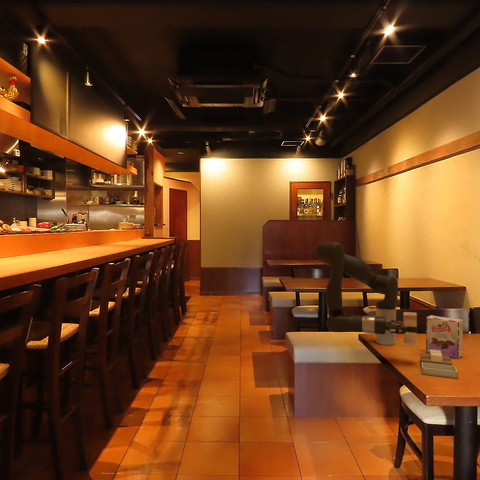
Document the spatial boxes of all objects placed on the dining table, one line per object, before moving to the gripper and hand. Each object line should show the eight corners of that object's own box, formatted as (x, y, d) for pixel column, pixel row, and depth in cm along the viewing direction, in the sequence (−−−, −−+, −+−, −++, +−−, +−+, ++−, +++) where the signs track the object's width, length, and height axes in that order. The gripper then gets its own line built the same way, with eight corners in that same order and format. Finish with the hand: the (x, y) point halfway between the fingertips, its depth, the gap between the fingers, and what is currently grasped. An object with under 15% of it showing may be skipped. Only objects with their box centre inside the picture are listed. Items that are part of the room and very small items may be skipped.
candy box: (425, 352, 182) (425, 316, 181) (430, 350, 186) (430, 314, 185) (458, 359, 172) (458, 321, 171) (462, 356, 176) (463, 319, 176)
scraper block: (403, 342, 170) (403, 312, 170) (416, 343, 168) (416, 312, 168) (403, 345, 165) (403, 314, 165) (416, 346, 164) (416, 315, 163)
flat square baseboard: (420, 360, 170) (420, 353, 170) (449, 363, 166) (449, 356, 166) (421, 367, 160) (421, 360, 160) (452, 371, 156) (452, 364, 156)
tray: (421, 368, 160) (421, 362, 160) (455, 372, 155) (455, 365, 155) (422, 374, 153) (422, 367, 153) (457, 378, 148) (457, 372, 148)
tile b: (430, 358, 163) (430, 352, 163) (441, 359, 162) (441, 353, 162) (431, 361, 159) (431, 355, 159) (442, 362, 158) (442, 356, 158)
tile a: (429, 355, 167) (429, 349, 167) (440, 356, 166) (440, 350, 166) (430, 358, 164) (430, 351, 164) (441, 359, 162) (441, 353, 162)
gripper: (372, 320, 165) (417, 323, 159) (375, 313, 179) (416, 315, 172) (372, 337, 166) (417, 341, 159) (375, 329, 179) (416, 333, 172)
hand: (416, 328), depth 166 cm, fingers closed on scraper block, 5 cm apart
